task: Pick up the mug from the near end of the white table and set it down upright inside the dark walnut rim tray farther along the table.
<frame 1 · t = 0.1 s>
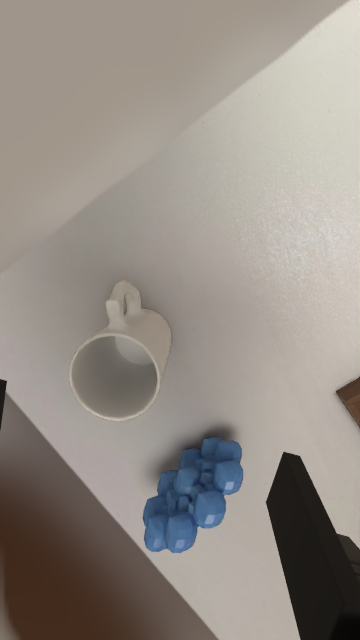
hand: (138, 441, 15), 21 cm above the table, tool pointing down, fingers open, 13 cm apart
blue sphere cluster: (199, 457, 38), on the table
mug: (142, 321, 36), on the table
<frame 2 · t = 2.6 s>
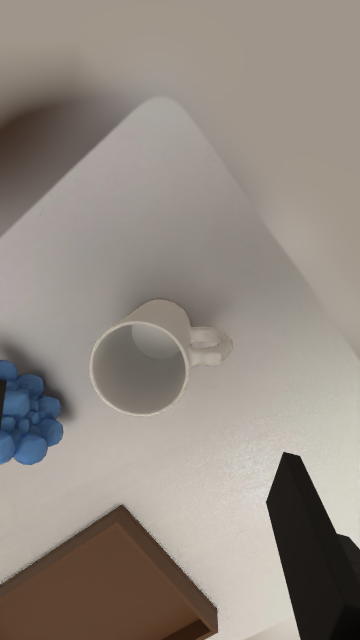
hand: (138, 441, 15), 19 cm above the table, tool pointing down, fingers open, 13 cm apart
blue sphere cluster: (33, 387, 36), on the table
tray: (82, 612, 42), on the table
mug: (176, 327, 34), on the table
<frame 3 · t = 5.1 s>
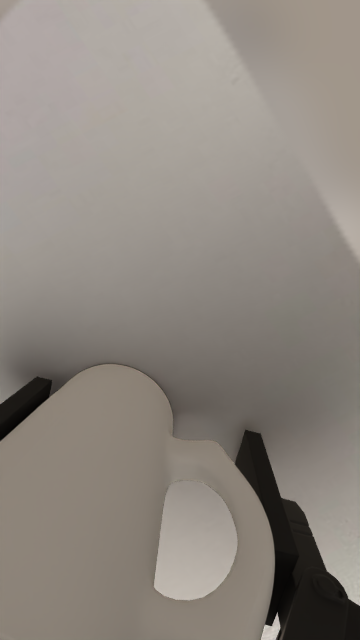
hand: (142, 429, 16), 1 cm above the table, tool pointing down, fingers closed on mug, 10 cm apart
mug: (146, 417, 17), on the table, touching gripper
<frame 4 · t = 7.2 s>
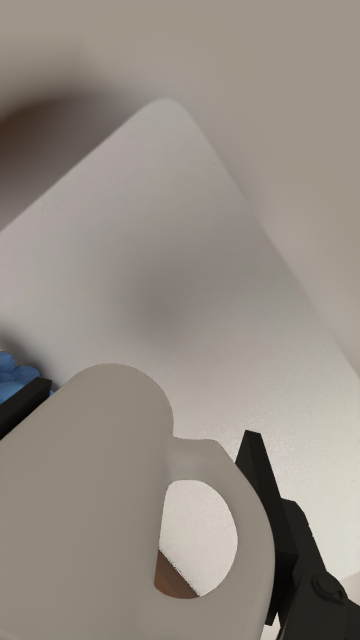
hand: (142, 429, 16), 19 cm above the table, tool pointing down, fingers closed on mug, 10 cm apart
blue sphere cluster: (29, 379, 37), on the table
tray: (70, 600, 43), on the table
mug: (146, 416, 17), point 18 cm above the table, touching gripper
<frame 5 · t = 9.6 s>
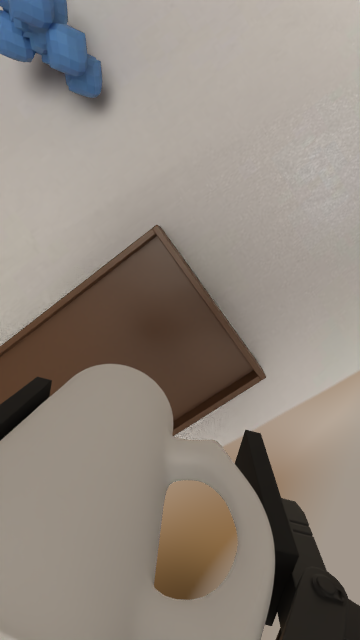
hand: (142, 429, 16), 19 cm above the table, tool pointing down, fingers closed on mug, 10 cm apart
blue sphere cluster: (64, 65, 31), on the table
tray: (104, 376, 37), on the table
mug: (146, 416, 17), point 18 cm above the table, touching gripper
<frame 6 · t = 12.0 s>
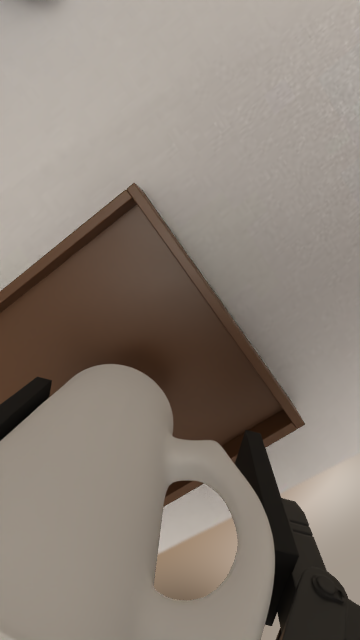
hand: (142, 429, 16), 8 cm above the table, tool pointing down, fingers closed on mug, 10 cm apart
tray: (62, 414, 25), on the table
mug: (146, 416, 17), point 6 cm above the table, touching gripper
when the fingers open (2 cm above the table, at t = 14.0 s): mug stays where it is, resting on tray.
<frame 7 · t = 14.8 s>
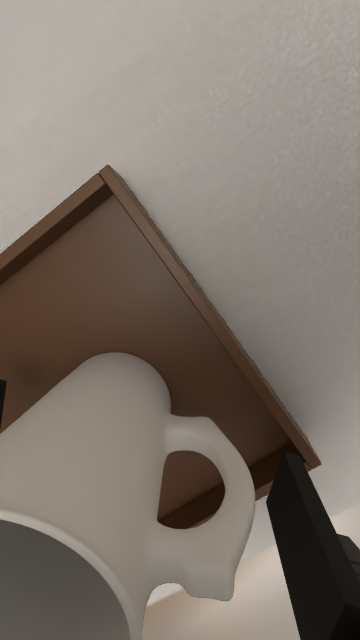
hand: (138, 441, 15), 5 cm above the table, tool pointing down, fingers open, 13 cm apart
tray: (28, 446, 21), on the table
mug: (146, 400, 19), resting on tray
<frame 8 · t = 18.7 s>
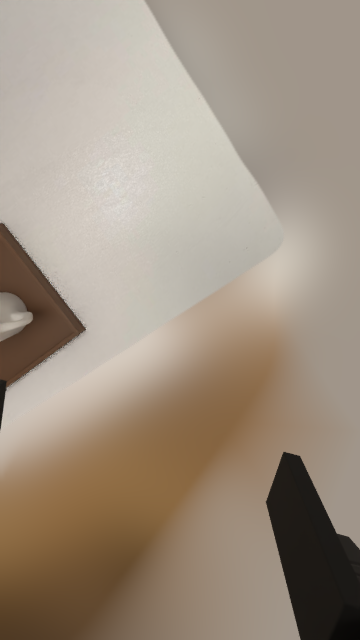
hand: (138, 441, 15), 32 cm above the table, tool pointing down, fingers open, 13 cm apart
mug: (19, 312, 47), resting on tray
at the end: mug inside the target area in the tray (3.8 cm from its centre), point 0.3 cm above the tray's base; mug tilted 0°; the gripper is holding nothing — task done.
